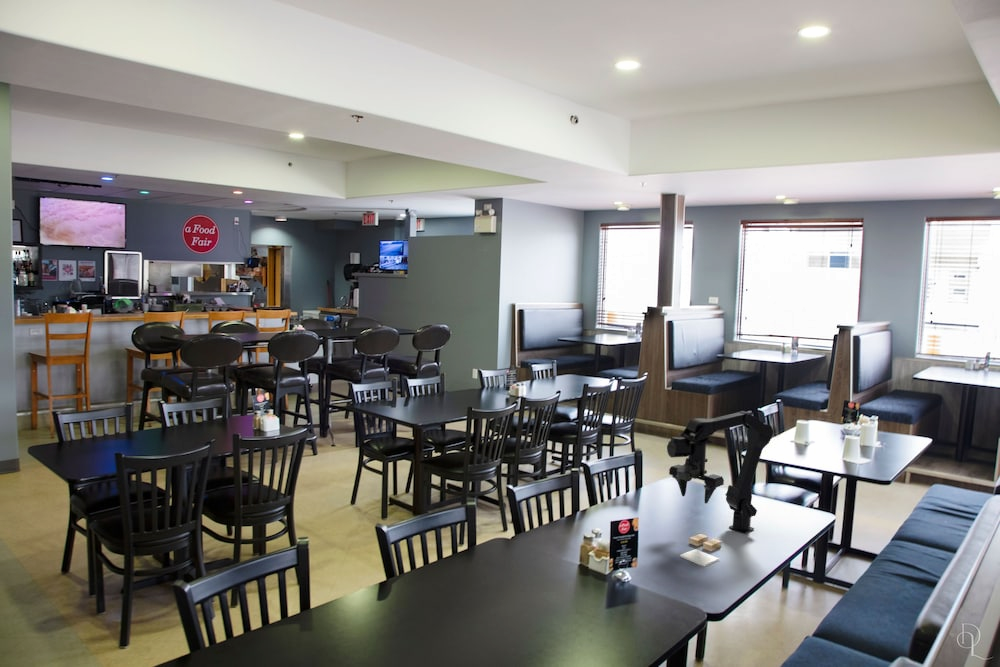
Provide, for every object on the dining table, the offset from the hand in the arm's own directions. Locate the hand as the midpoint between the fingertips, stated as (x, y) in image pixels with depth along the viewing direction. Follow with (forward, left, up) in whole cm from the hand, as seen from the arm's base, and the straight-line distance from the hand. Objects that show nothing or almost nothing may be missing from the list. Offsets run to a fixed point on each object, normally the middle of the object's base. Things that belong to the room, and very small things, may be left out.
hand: (694, 499), depth 239 cm
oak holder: (+6, +9, -12) cm, 16 cm away
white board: (+17, +10, -12) cm, 23 cm away
